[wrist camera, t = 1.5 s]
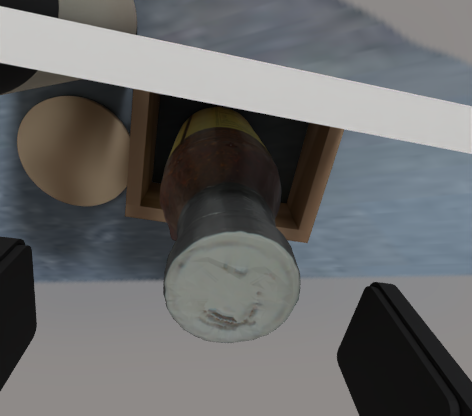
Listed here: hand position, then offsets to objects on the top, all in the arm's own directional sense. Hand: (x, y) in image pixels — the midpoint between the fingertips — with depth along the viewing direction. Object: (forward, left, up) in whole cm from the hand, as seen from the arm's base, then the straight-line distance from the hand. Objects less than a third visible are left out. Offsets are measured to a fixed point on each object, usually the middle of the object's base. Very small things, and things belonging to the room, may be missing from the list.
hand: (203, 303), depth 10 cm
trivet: (+10, +3, -20) cm, 23 cm away
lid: (-1, -6, -20) cm, 21 cm away
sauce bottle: (-1, 0, -20) cm, 20 cm away
